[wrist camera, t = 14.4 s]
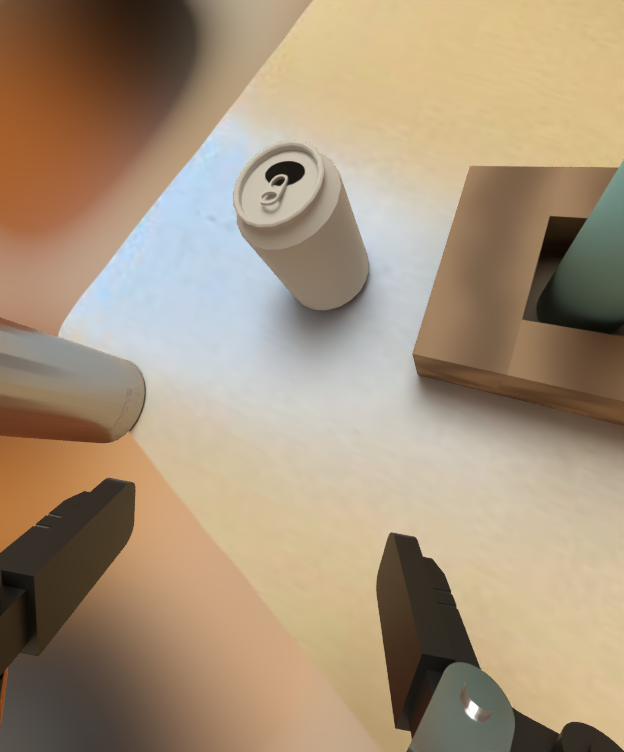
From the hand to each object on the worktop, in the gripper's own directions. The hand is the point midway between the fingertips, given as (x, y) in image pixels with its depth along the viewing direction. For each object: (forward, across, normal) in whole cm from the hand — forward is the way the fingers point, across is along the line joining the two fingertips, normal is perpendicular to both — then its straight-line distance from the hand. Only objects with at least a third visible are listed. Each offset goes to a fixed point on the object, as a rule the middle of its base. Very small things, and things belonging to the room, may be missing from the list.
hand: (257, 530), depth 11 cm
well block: (+17, -18, -8) cm, 26 cm away
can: (+25, -1, -8) cm, 26 cm away
